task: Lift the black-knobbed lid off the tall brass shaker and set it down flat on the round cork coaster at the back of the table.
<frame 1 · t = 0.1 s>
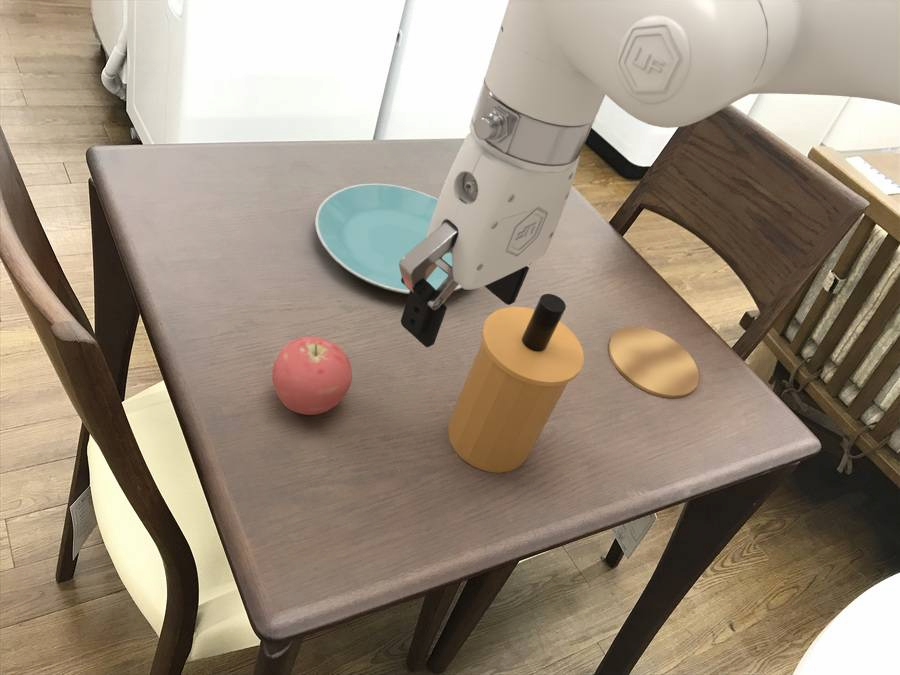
hand: (459, 313, 61), 20 cm above the table, tool pointing down, fingers open, 9 cm apart
plate: (398, 251, 99), on the table
shaker: (488, 438, 80), on the table
apple: (305, 403, 77), on the table
coaster: (652, 362, 97), on the table
shaker lid: (531, 347, 71), point 13 cm above the table, touching shaker
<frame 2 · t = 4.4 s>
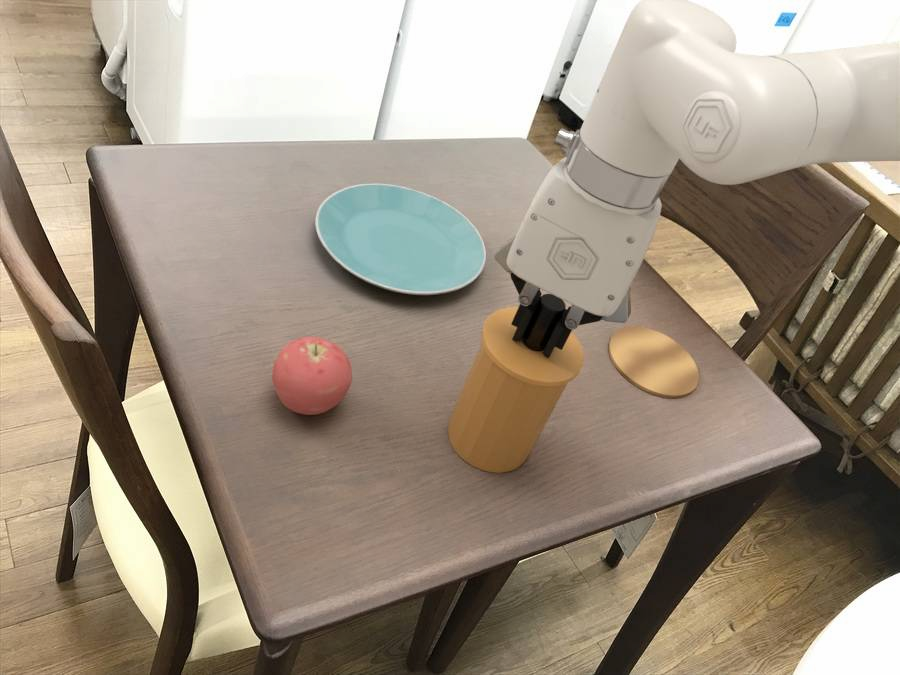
hand: (535, 339, 70), 14 cm above the table, tool pointing down, fingers closed on shaker lid, 2 cm apart
shaker lid: (531, 347, 71), point 14 cm above the table, touching gripper, shaker
everything else where it was.
when the fingers open (2 cm above the table, at t = 14.3 s): shaker lid stays where it is, resting on coaster.
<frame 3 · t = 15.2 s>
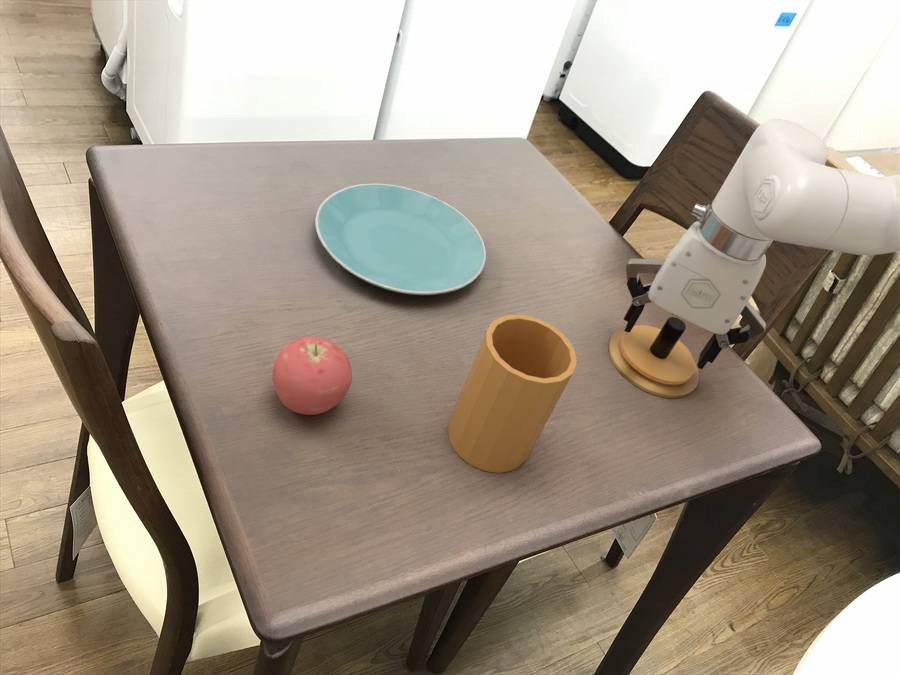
hand: (664, 343, 94), 3 cm above the table, tool pointing down, fingers open, 9 cm apart
shaker lid: (656, 355, 96), point 1 cm above the table, touching coaster
everything else where it was.
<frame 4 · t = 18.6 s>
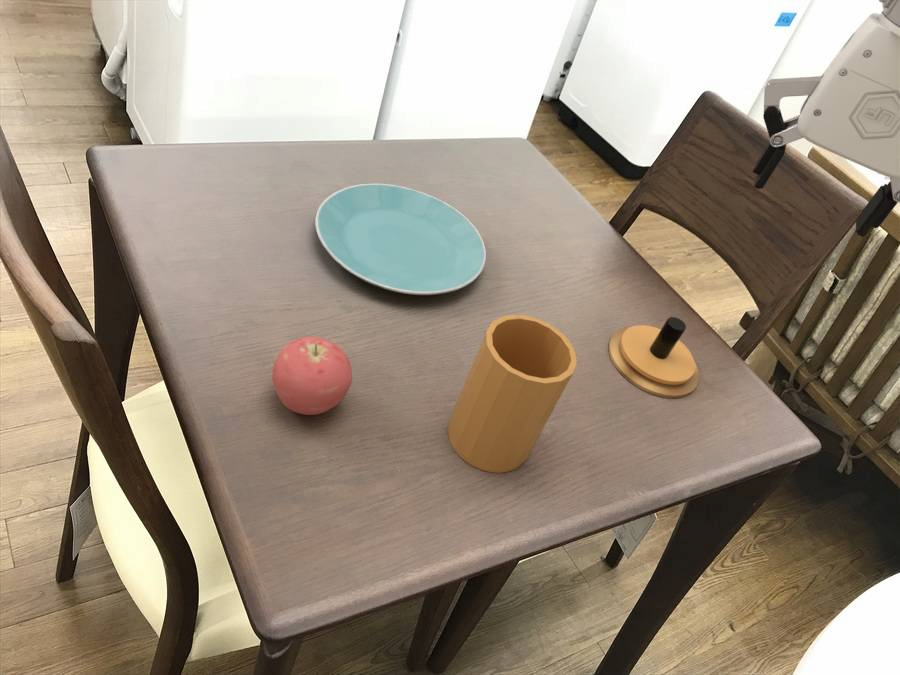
hand: (808, 205, 69), 30 cm above the table, tool pointing down, fingers open, 9 cm apart
nothing on the table moved.
at the end: shaker lid inside the target area on the coaster (0.1 cm from its centre), point 1.1 cm above the coaster's base; shaker lid tilted 0° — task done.
